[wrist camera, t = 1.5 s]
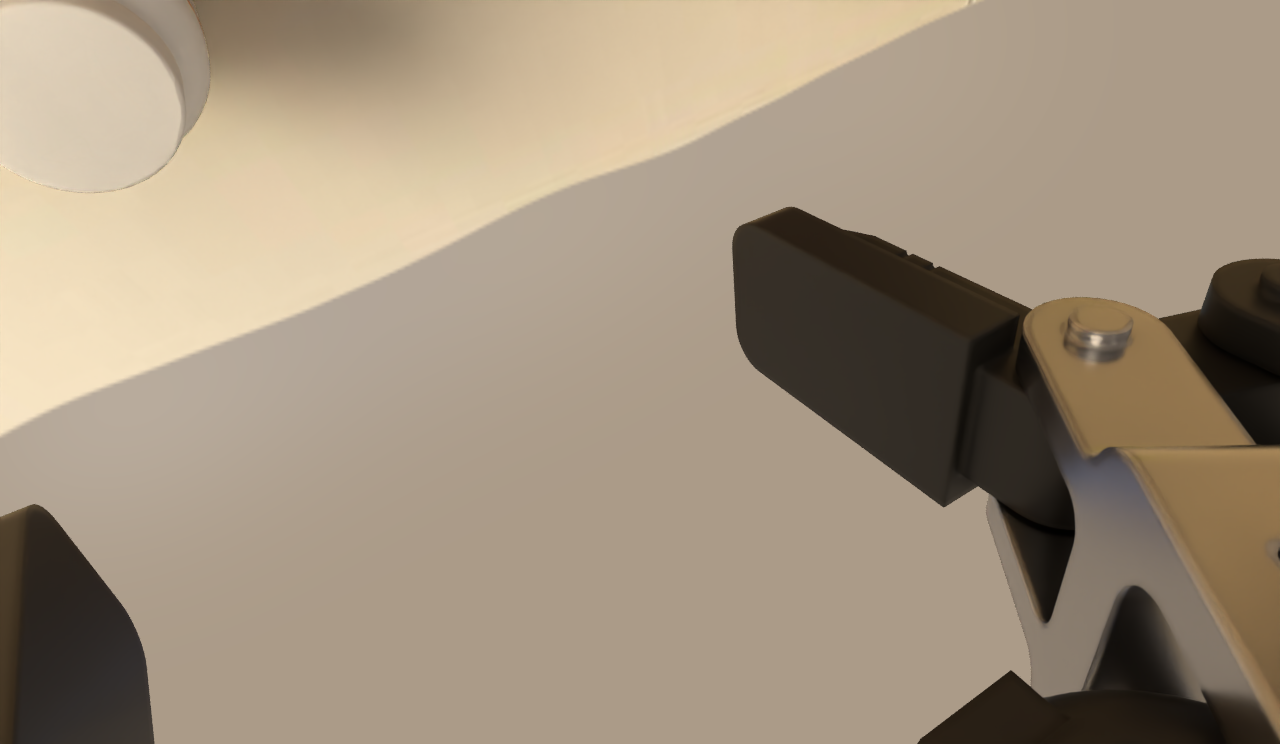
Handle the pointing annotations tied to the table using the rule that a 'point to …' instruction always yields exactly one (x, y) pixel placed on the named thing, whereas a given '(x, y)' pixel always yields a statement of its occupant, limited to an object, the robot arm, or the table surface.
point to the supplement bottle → (98, 89)
